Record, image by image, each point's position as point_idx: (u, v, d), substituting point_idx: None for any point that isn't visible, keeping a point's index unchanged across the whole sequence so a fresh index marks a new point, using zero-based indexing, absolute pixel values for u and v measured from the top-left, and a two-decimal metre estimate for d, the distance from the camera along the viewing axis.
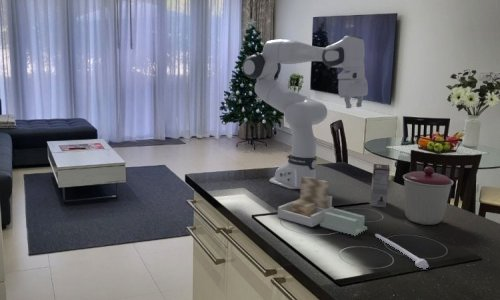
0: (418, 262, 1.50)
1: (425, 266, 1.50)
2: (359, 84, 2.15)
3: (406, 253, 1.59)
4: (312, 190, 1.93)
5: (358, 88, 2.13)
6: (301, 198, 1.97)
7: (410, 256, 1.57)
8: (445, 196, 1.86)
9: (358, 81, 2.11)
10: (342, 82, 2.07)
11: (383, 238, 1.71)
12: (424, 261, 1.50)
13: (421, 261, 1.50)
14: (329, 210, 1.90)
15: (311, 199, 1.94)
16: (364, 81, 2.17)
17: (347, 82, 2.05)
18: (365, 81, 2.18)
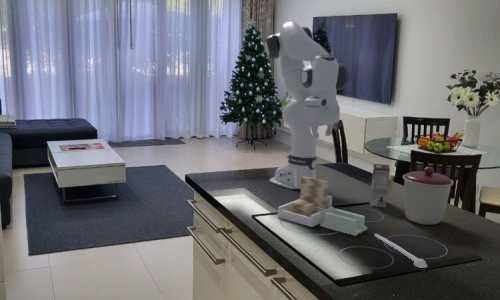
0: (416, 262, 1.51)
1: (423, 266, 1.50)
2: (329, 111, 1.89)
3: (405, 253, 1.59)
4: (312, 190, 1.93)
5: (328, 115, 1.88)
6: (301, 198, 1.97)
7: (409, 256, 1.57)
8: (445, 196, 1.86)
9: (328, 108, 1.85)
10: (309, 109, 1.81)
11: (382, 238, 1.71)
12: (422, 261, 1.50)
13: (419, 261, 1.50)
14: (329, 210, 1.90)
15: (311, 199, 1.94)
16: (336, 107, 1.92)
17: (315, 110, 1.80)
18: (337, 107, 1.93)
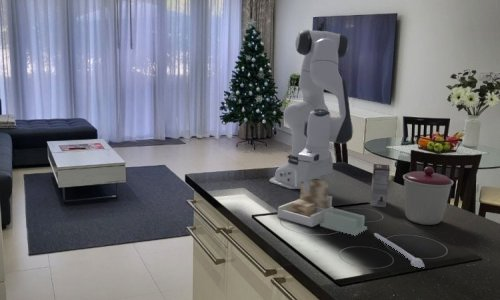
0: (413, 261, 1.51)
1: (420, 265, 1.50)
2: (322, 164, 1.92)
3: (403, 252, 1.59)
4: (312, 190, 1.93)
5: (320, 168, 1.91)
6: (301, 198, 1.97)
7: (406, 255, 1.57)
8: (445, 196, 1.86)
9: (321, 162, 1.89)
10: (301, 164, 1.84)
11: (381, 237, 1.71)
12: (420, 260, 1.51)
13: (416, 260, 1.51)
14: (329, 210, 1.90)
15: (311, 199, 1.94)
16: (329, 159, 1.95)
17: (307, 165, 1.83)
18: (330, 159, 1.96)
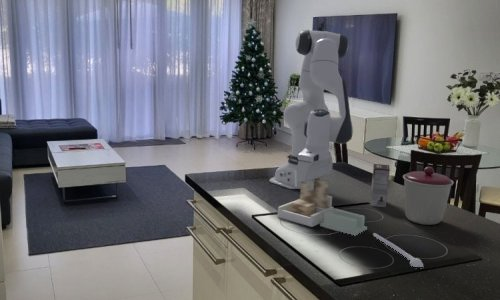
0: (412, 261, 1.51)
1: (419, 265, 1.50)
2: (322, 164, 1.92)
3: (402, 252, 1.59)
4: (312, 190, 1.93)
5: (320, 169, 1.91)
6: (301, 198, 1.97)
7: (405, 255, 1.57)
8: (445, 196, 1.86)
9: (320, 162, 1.89)
10: (301, 164, 1.84)
11: (380, 237, 1.71)
12: (418, 260, 1.51)
13: (415, 260, 1.51)
14: (329, 210, 1.90)
15: (311, 199, 1.94)
16: (328, 159, 1.95)
17: (307, 165, 1.83)
18: (330, 159, 1.96)
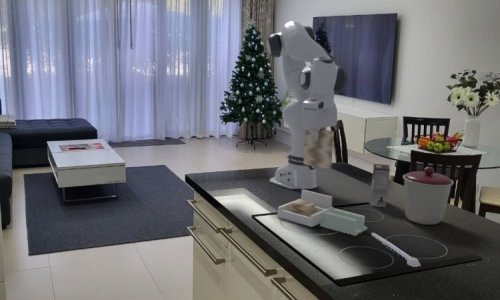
0: (410, 261, 1.51)
1: (416, 265, 1.50)
2: (327, 114, 1.88)
3: (399, 252, 1.59)
4: None
5: (325, 118, 1.87)
6: (305, 150, 1.92)
7: (403, 255, 1.57)
8: (445, 196, 1.86)
9: (325, 111, 1.84)
10: (306, 112, 1.80)
11: (378, 237, 1.72)
12: (416, 260, 1.51)
13: (413, 260, 1.51)
14: (329, 210, 1.90)
15: (316, 150, 1.90)
16: (333, 110, 1.91)
17: (311, 113, 1.79)
18: (334, 110, 1.92)
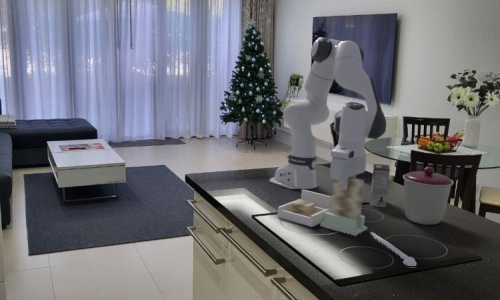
0: (406, 260, 1.52)
1: (412, 264, 1.51)
2: (356, 161, 1.78)
3: (396, 251, 1.60)
4: None
5: (354, 166, 1.77)
6: (333, 198, 1.82)
7: (400, 254, 1.58)
8: (445, 196, 1.86)
9: (355, 159, 1.74)
10: (335, 162, 1.70)
11: (377, 236, 1.72)
12: (412, 259, 1.51)
13: (409, 259, 1.51)
14: (329, 210, 1.90)
15: (344, 199, 1.79)
16: (362, 156, 1.81)
17: (342, 163, 1.69)
18: (363, 156, 1.82)
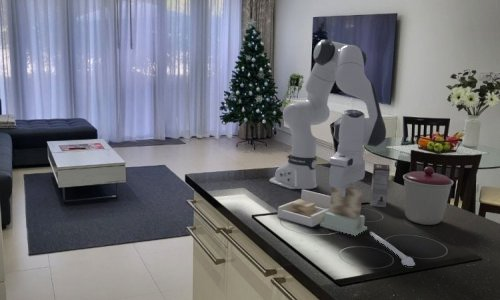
0: (404, 260, 1.52)
1: (411, 264, 1.51)
2: (355, 168, 1.79)
3: (395, 251, 1.60)
4: (344, 199, 1.79)
5: (353, 174, 1.78)
6: (331, 208, 1.83)
7: (398, 254, 1.58)
8: (445, 196, 1.86)
9: (354, 167, 1.75)
10: (334, 169, 1.71)
11: (376, 236, 1.72)
12: (410, 259, 1.51)
13: (407, 259, 1.52)
14: (329, 210, 1.90)
15: (342, 208, 1.80)
16: (361, 163, 1.81)
17: (340, 170, 1.69)
18: (362, 163, 1.82)
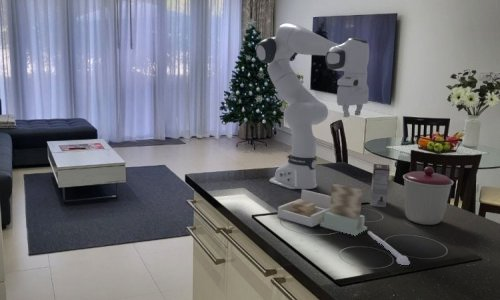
0: (399, 259, 1.52)
1: (405, 263, 1.51)
2: (360, 91, 1.99)
3: (391, 250, 1.61)
4: (344, 199, 1.79)
5: (358, 96, 1.98)
6: (331, 208, 1.83)
7: (394, 253, 1.58)
8: (445, 196, 1.86)
9: (359, 88, 1.95)
10: (341, 89, 1.91)
11: (373, 235, 1.73)
12: (405, 258, 1.52)
13: (402, 258, 1.52)
14: (329, 210, 1.90)
15: (343, 208, 1.80)
16: (365, 88, 2.01)
17: (347, 89, 1.89)
18: (366, 88, 2.02)
